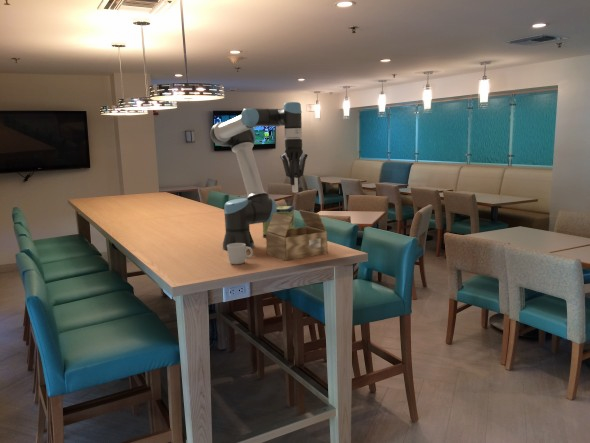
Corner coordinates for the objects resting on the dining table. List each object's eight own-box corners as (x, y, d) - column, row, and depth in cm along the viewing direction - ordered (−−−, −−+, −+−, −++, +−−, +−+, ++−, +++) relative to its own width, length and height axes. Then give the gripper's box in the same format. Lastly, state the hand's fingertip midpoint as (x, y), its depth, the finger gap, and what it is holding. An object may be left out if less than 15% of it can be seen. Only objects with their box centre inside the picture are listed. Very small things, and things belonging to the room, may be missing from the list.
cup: (253, 260, 207) (253, 242, 206) (252, 264, 200) (251, 246, 198) (228, 261, 207) (227, 243, 206) (226, 265, 199) (225, 247, 198)
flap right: (325, 230, 214) (318, 214, 211) (305, 226, 228) (298, 210, 225) (326, 230, 214) (318, 213, 211) (306, 225, 228) (299, 209, 225)
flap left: (284, 236, 203) (291, 217, 204) (266, 230, 217) (273, 212, 218) (285, 236, 204) (292, 217, 204) (267, 231, 217) (274, 213, 218)
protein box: (291, 237, 253) (290, 208, 251) (262, 237, 257) (261, 208, 254) (295, 234, 264) (294, 206, 261) (267, 233, 267) (266, 206, 264)
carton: (285, 261, 204) (285, 238, 202) (266, 253, 220) (265, 231, 218) (328, 253, 215) (327, 231, 214) (306, 246, 231) (306, 226, 229)
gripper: (284, 138, 202) (286, 194, 206) (310, 138, 209) (312, 191, 213) (276, 139, 209) (278, 192, 213) (301, 138, 215) (303, 190, 219)
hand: (295, 192), depth 213 cm, fingers closed
